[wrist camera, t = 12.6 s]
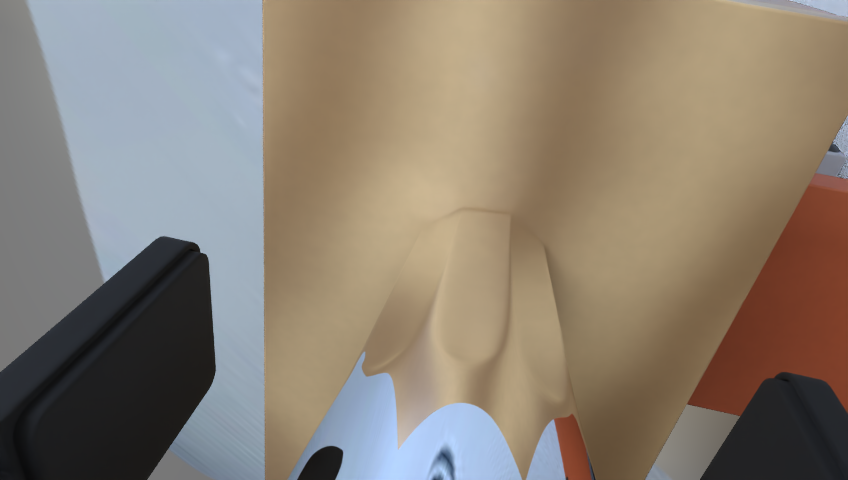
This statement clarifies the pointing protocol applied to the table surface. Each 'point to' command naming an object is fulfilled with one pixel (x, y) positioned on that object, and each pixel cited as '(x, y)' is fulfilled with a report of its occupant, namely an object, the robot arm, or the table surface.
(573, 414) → the milkshake
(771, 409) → the robot arm
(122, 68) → the table surface
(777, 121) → the desk
